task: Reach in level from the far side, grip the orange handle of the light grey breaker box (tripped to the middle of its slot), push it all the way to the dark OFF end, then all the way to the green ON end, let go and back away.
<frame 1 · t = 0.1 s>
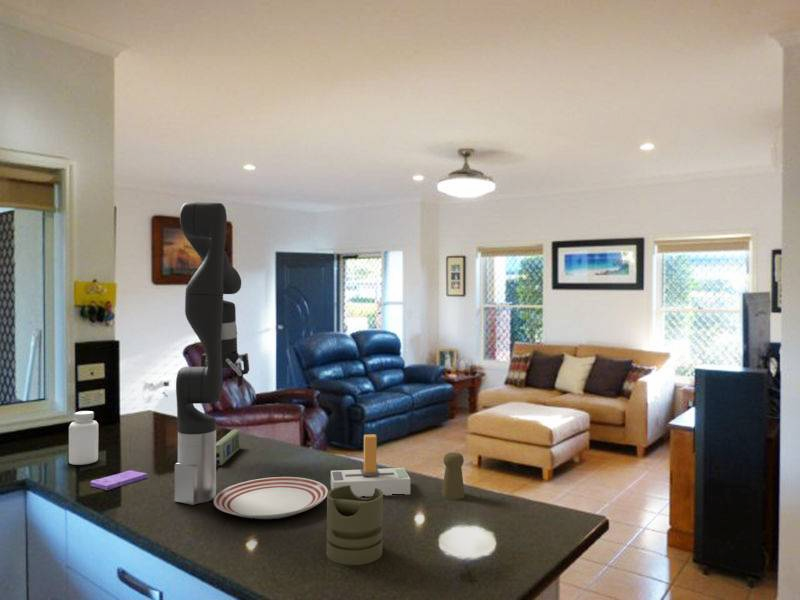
hand: (225, 386, 191), 22 cm above the worktop, tool pointing down, fingers open, 8 cm apart
handheld radio: (224, 460, 191), on the worktop
breaker box: (369, 489, 163), on the worktop
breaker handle: (370, 454, 163), point 9 cm above the worktop, slide at 0.0 cm
dinner plate: (271, 507, 151), on the worktop
sponges: (119, 484, 168), on the worktop
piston: (354, 553, 125), on the worktop
olive pawn figure: (453, 496, 160), on the worktop
pill bottle: (83, 462, 186), on the worktop
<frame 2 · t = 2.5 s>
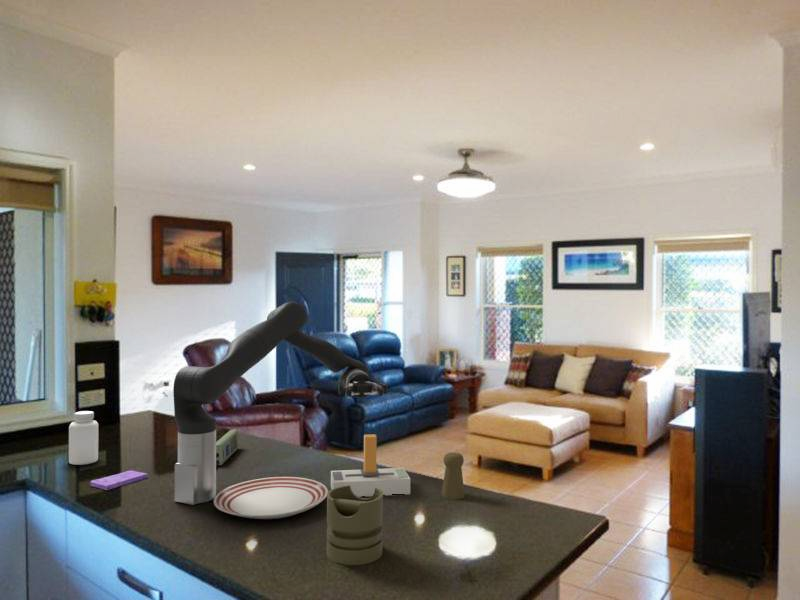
hand: (365, 392, 174), 24 cm above the worktop, tool horizontal, fingers open, 8 cm apart
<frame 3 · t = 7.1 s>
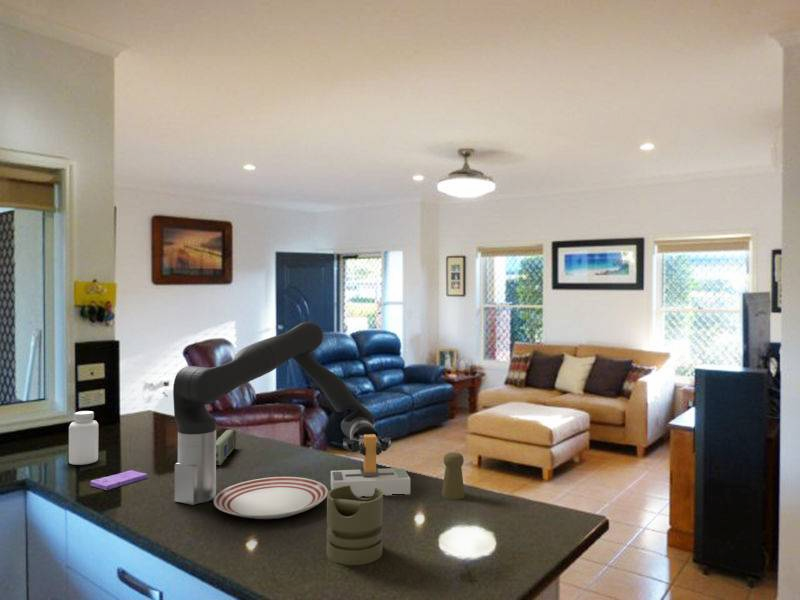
hand: (371, 451, 160), 11 cm above the worktop, tool horizontal, fingers closed on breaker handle, 3 cm apart
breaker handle: (369, 454, 163), point 9 cm above the worktop, slide at 0.0 cm, touching gripper
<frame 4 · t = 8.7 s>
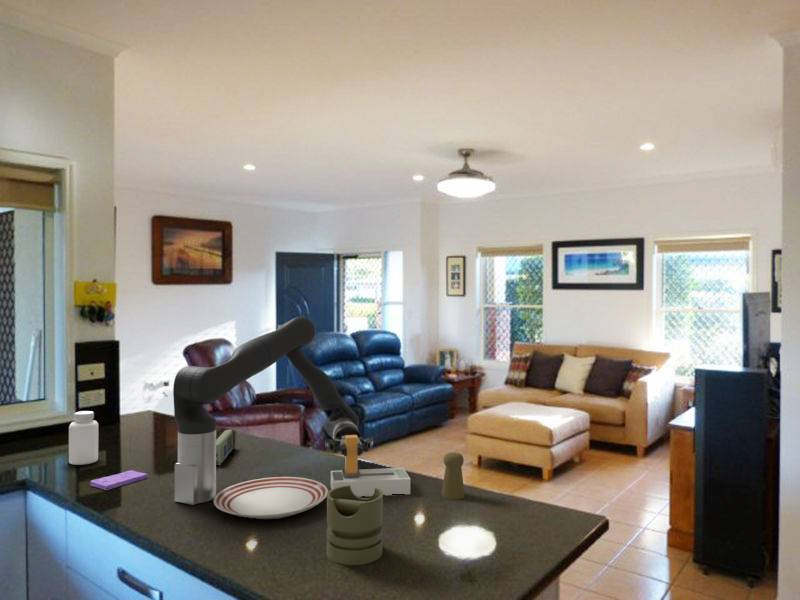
hand: (352, 452, 160), 11 cm above the worktop, tool horizontal, fingers closed on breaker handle, 3 cm apart
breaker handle: (351, 455, 162), point 9 cm above the worktop, slide at -5.0 cm, touching gripper
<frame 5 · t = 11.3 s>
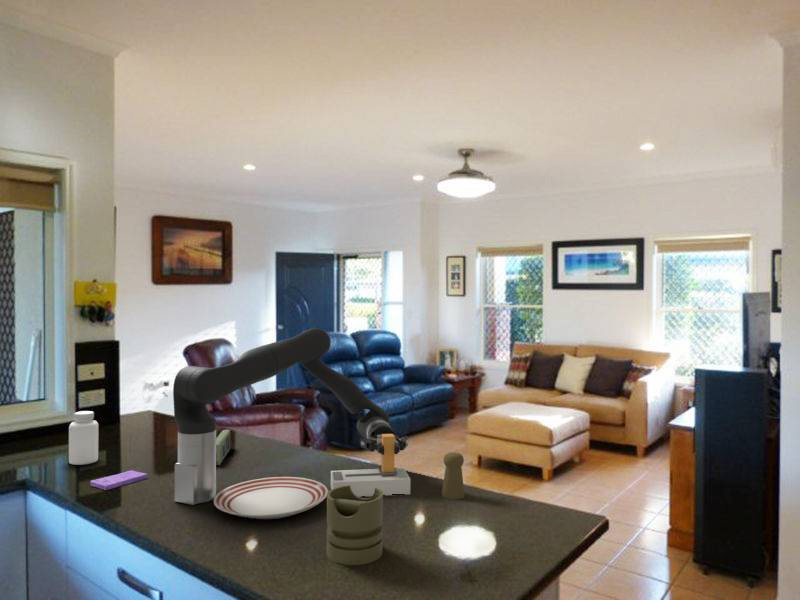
hand: (389, 450, 161), 11 cm above the worktop, tool horizontal, fingers closed on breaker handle, 3 cm apart
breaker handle: (387, 453, 164), point 9 cm above the worktop, slide at 4.8 cm, touching gripper
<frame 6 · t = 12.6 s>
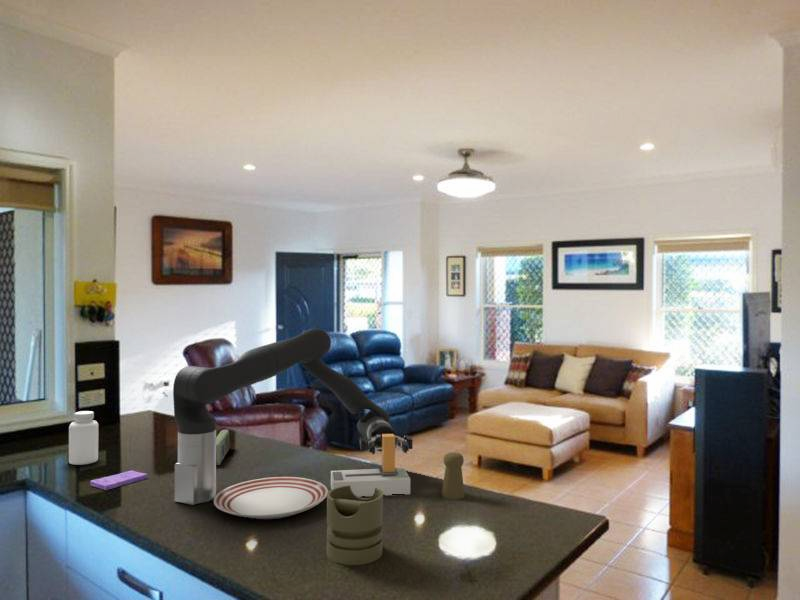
hand: (389, 449, 162), 11 cm above the worktop, tool horizontal, fingers open, 8 cm apart
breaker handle: (388, 453, 164), point 9 cm above the worktop, slide at 4.9 cm
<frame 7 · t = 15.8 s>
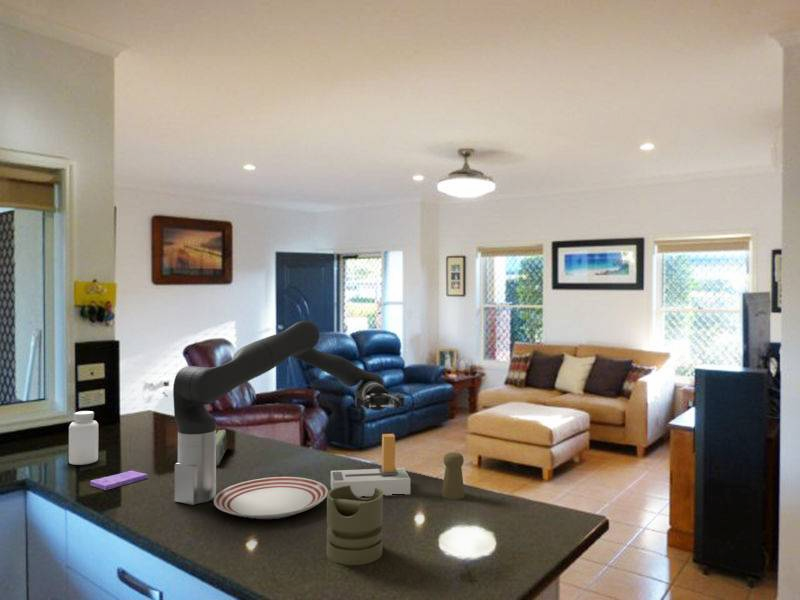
hand: (382, 405, 175), 20 cm above the worktop, tool horizontal, fingers open, 8 cm apart
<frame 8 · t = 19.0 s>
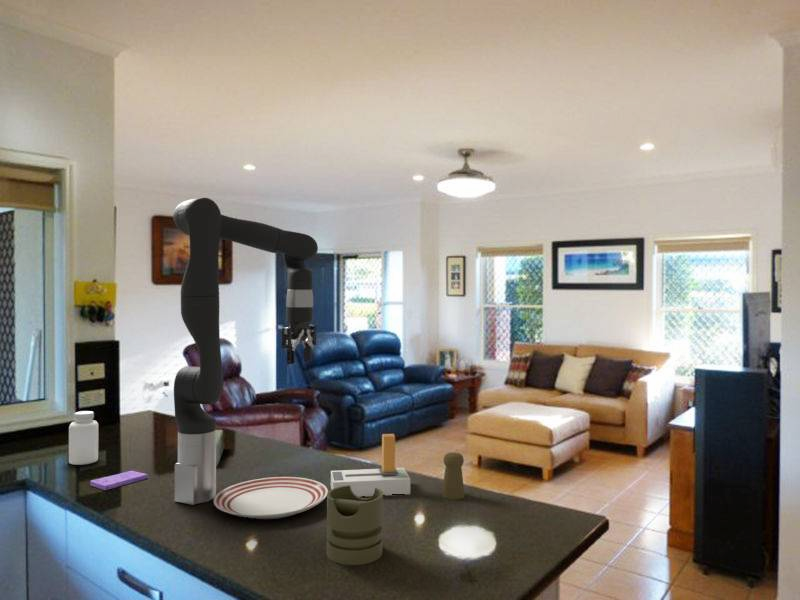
hand: (299, 362, 176), 32 cm above the worktop, tool pointing down, fingers open, 8 cm apart
at the end: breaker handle slide at 4.9 cm; the gripper is holding nothing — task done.
